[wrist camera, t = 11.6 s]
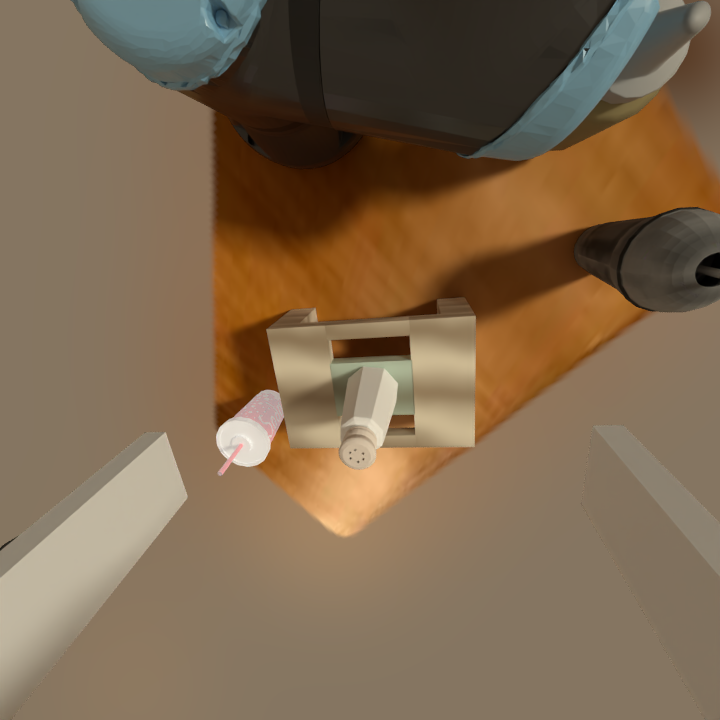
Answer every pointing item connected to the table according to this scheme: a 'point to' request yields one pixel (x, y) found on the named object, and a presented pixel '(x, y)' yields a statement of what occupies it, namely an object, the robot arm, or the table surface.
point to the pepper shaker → (366, 415)
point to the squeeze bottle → (645, 67)
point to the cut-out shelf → (431, 374)
